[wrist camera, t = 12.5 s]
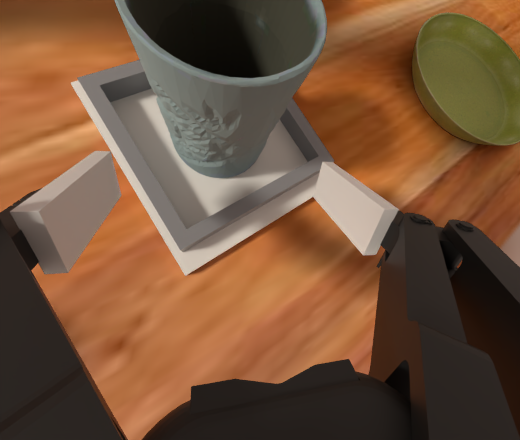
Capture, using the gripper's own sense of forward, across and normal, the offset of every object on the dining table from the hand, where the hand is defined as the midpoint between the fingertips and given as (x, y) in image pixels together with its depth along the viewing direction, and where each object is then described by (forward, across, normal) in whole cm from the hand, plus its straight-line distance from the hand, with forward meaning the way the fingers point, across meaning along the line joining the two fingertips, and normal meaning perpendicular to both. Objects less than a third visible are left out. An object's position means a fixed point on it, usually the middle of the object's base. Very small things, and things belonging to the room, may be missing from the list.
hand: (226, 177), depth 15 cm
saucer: (+18, +35, +7) cm, 40 cm away
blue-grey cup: (+10, 0, 0) cm, 10 cm away
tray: (+10, 0, 0) cm, 10 cm away
